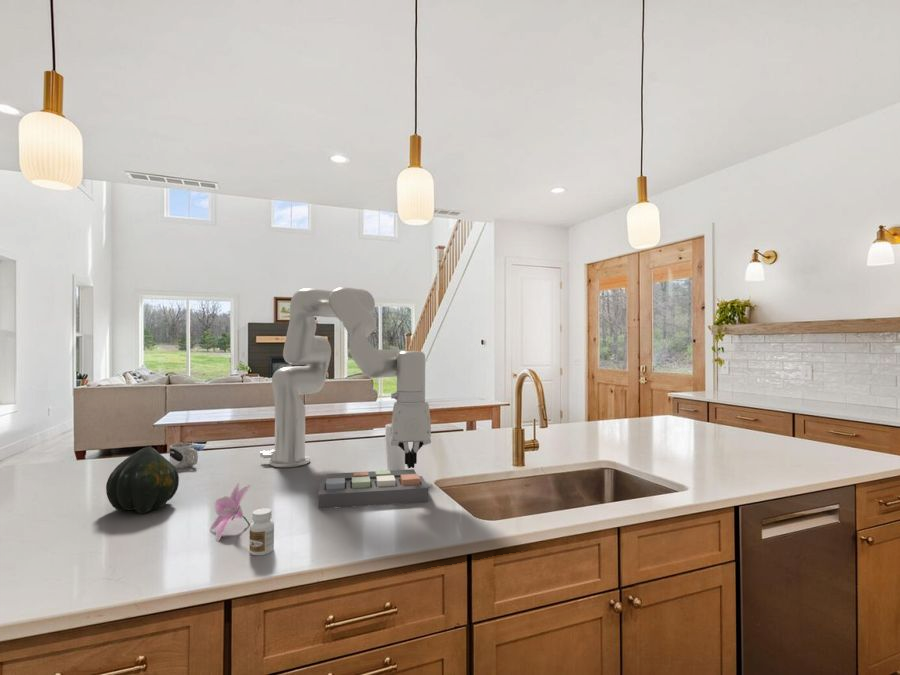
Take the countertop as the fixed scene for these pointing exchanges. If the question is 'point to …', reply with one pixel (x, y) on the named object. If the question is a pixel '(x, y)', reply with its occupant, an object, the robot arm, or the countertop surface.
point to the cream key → (385, 481)
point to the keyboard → (372, 491)
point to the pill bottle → (261, 532)
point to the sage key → (360, 482)
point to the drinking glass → (393, 452)
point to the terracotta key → (409, 479)
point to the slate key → (335, 483)
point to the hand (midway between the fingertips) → (410, 466)
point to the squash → (142, 482)
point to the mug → (183, 455)
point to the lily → (229, 510)
